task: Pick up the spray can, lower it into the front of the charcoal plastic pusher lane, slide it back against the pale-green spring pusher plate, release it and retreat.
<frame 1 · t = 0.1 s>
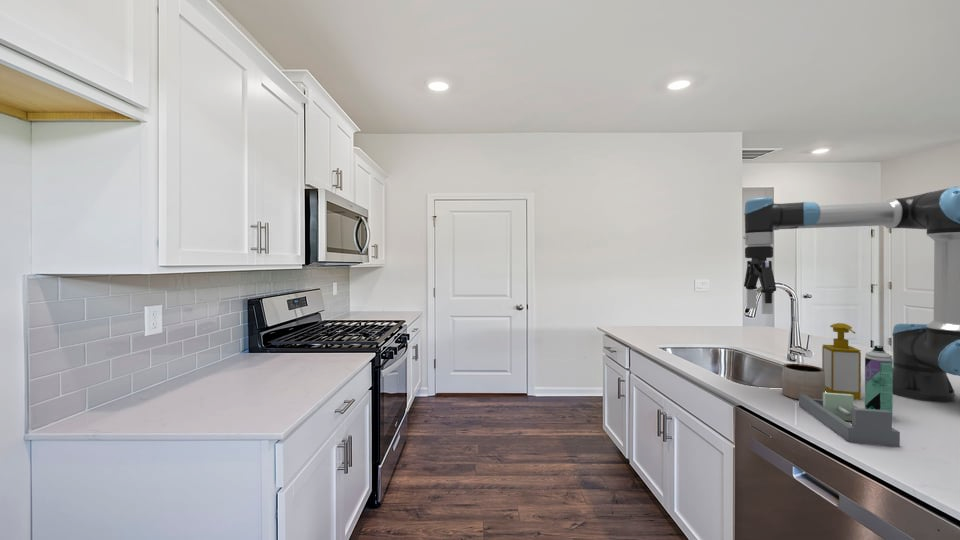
hand: (759, 311, 130), 28 cm above the worktop, fingers open, 13 cm apart
planter: (803, 397, 129), on the worktop
pusher: (842, 409, 108), point 4 cm above the worktop, slide at 0.0 cm
soap bottle: (844, 398, 127), on the worktop
lane: (843, 423, 108), on the worktop
spray can: (878, 417, 112), on the worktop
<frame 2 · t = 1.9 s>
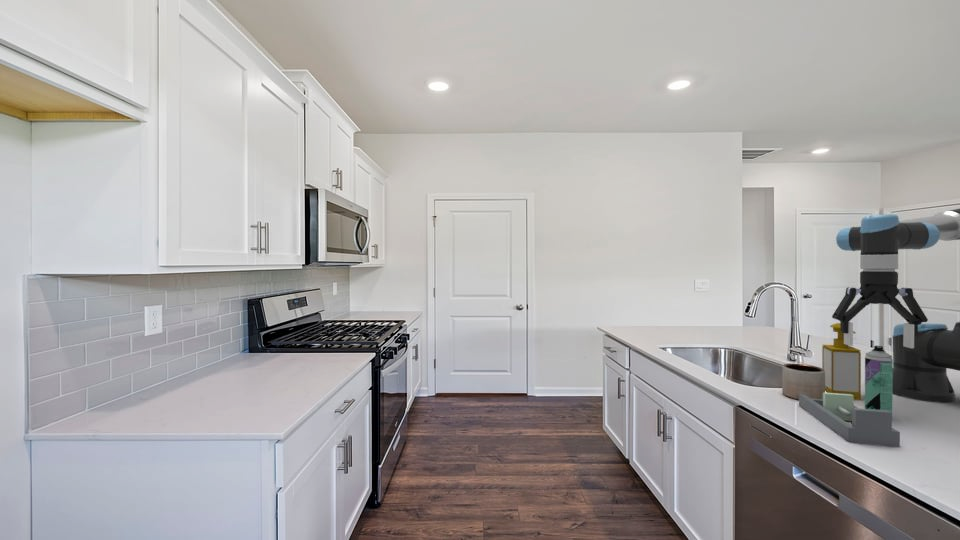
hand: (877, 346, 111), 20 cm above the worktop, fingers open, 13 cm apart
nothing on the worktop moved.
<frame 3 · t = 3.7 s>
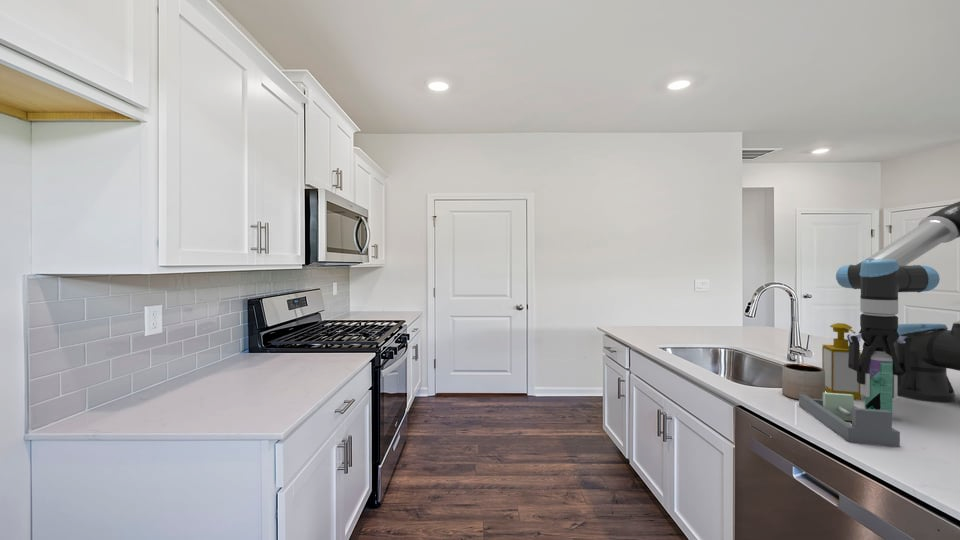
hand: (878, 396, 112), 6 cm above the worktop, fingers closed on spray can, 5 cm apart
spray can: (878, 417, 112), on the worktop, touching gripper
everything else where it was.
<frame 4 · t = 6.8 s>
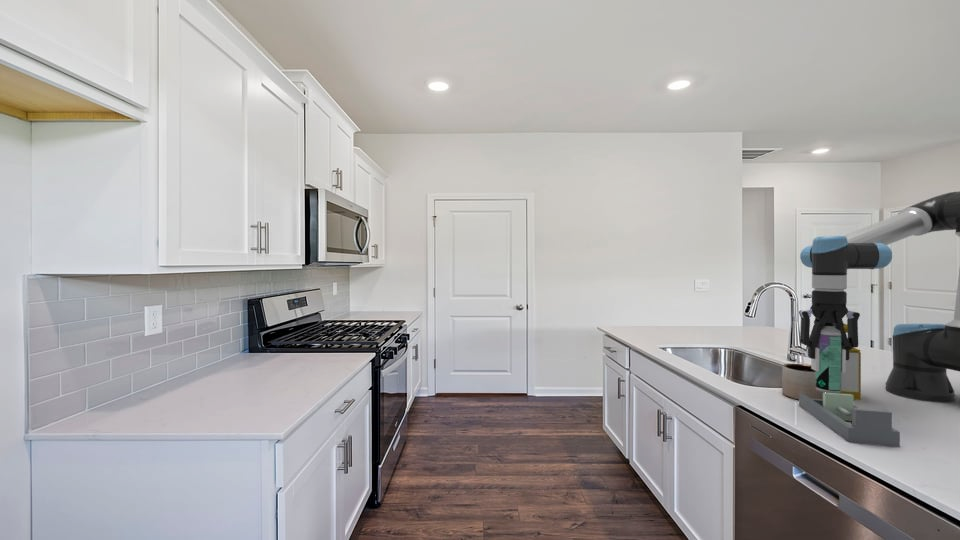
hand: (828, 370, 114), 13 cm above the worktop, fingers closed on spray can, 5 cm apart
spray can: (827, 391, 114), point 7 cm above the worktop, touching gripper
everything else where it was.
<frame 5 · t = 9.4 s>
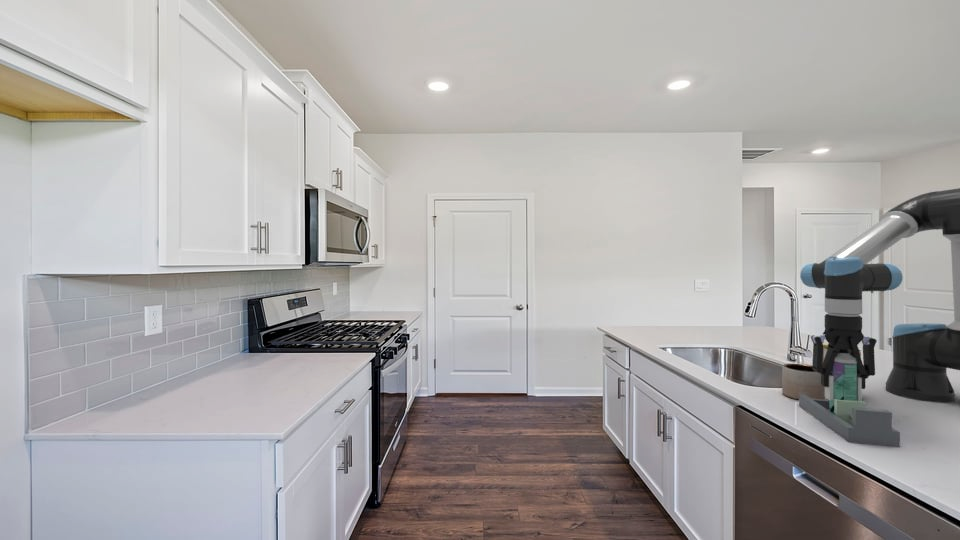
hand: (842, 399, 108), 7 cm above the worktop, fingers closed on spray can, 5 cm apart
pusher: (855, 417, 102), point 4 cm above the worktop, slide at 5.6 cm, touching spray can
spray can: (842, 421, 108), point 1 cm above the worktop, touching gripper, pusher
everything else where it was.
when the fingers open (7 cm above the worktop, at t = 10.2 s): spray can stays where it is, resting on pusher.
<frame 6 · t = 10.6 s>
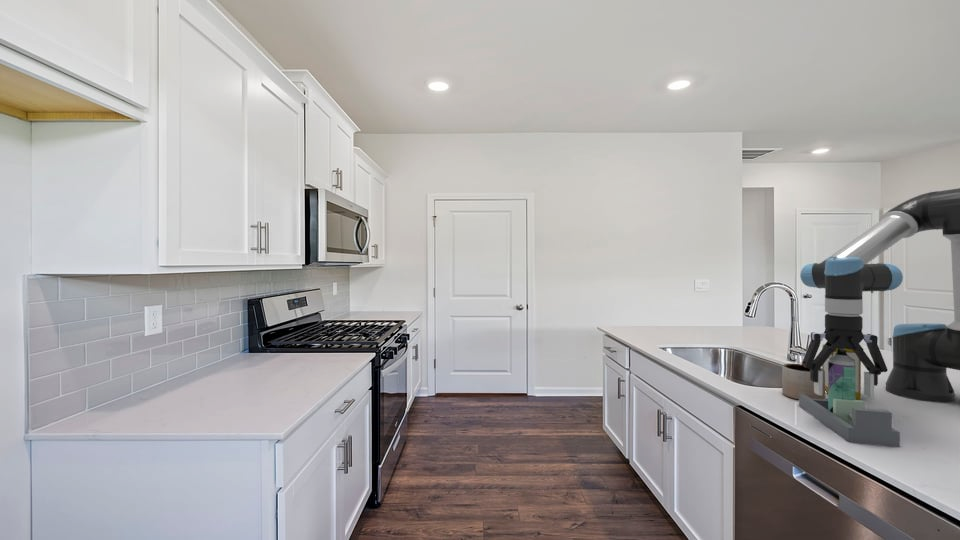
hand: (843, 395, 107), 8 cm above the worktop, fingers open, 10 cm apart
pusher: (853, 416, 103), point 4 cm above the worktop, slide at 5.1 cm, touching spray can
spray can: (841, 423, 108), resting on pusher
everything else where it was.
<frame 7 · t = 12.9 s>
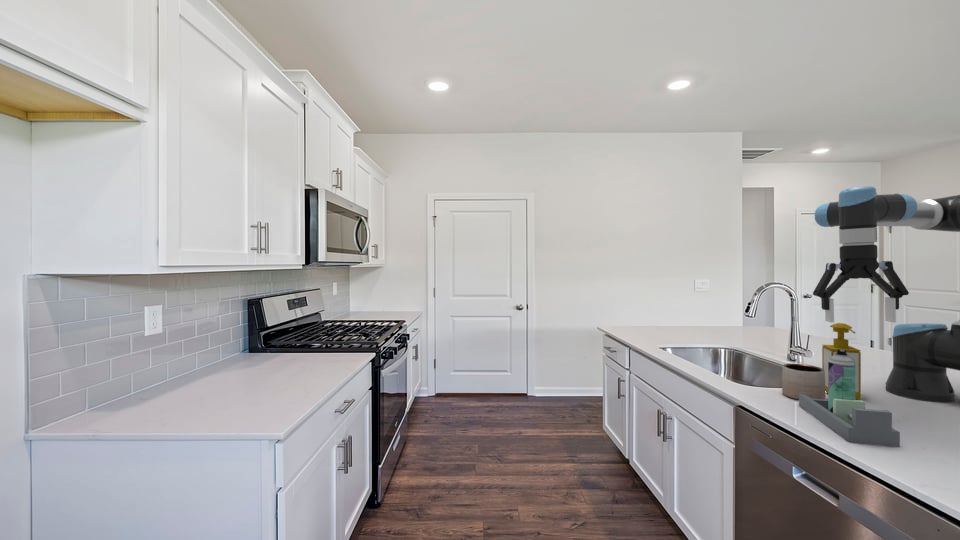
hand: (859, 321, 109), 27 cm above the worktop, fingers open, 13 cm apart
nothing on the worktop moved.
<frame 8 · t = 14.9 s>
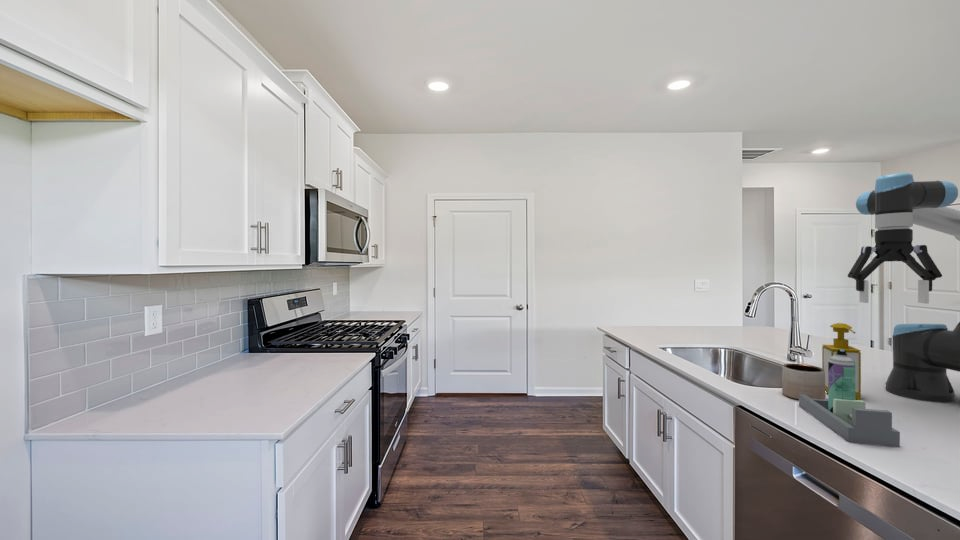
hand: (893, 302, 114), 32 cm above the worktop, fingers open, 13 cm apart
nothing on the worktop moved.
at the end: spray can inside the target area (2.5 cm from its centre), resting in lane; spray can tilted 0°; the gripper is holding nothing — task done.
